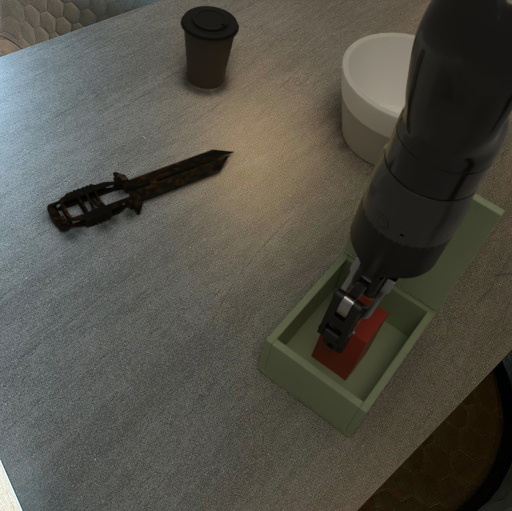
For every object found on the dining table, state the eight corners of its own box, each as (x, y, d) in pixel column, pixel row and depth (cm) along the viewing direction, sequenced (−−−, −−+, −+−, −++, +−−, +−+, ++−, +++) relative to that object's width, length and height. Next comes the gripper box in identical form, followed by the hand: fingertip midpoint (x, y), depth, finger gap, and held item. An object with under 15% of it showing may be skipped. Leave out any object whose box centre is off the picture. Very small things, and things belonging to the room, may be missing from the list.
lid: (501, 215, 52) (524, 181, 55) (383, 146, 55) (410, 118, 58) (437, 311, 64) (458, 280, 67) (343, 250, 68) (367, 223, 70)
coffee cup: (226, 100, 91) (232, 39, 83) (171, 87, 91) (173, 25, 83) (238, 67, 96) (245, 8, 88) (186, 55, 96) (189, -6, 88)
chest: (349, 438, 62) (366, 413, 57) (256, 369, 65) (265, 339, 60) (417, 341, 70) (437, 311, 65) (331, 283, 73) (344, 250, 68)
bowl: (473, 183, 87) (508, 124, 78) (341, 186, 83) (362, 124, 75) (430, 93, 98) (456, 33, 90) (311, 93, 94) (327, 29, 86)
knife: (228, 148, 85) (229, 140, 84) (251, 180, 82) (252, 173, 81) (42, 200, 75) (40, 191, 74) (59, 238, 72) (57, 231, 71)
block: (366, 352, 67) (388, 313, 61) (345, 381, 65) (366, 343, 59) (333, 328, 69) (351, 288, 62) (310, 356, 66) (327, 316, 60)
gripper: (410, 291, 43) (350, 391, 56) (491, 183, 51) (422, 292, 64) (321, 233, 45) (283, 342, 58) (412, 137, 53) (361, 252, 66)
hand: (356, 316), depth 61 cm, fingers open, 8 cm apart
